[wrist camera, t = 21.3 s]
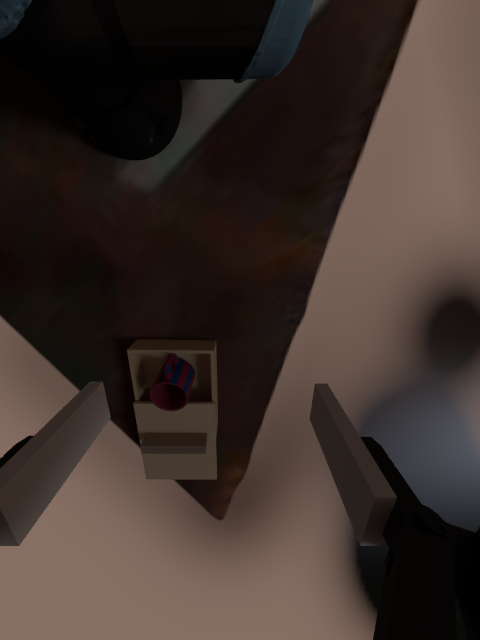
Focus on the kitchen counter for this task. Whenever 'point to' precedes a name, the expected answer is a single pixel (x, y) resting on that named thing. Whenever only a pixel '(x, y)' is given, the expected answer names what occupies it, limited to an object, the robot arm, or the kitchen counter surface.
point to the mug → (173, 384)
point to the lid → (177, 440)
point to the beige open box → (199, 353)
